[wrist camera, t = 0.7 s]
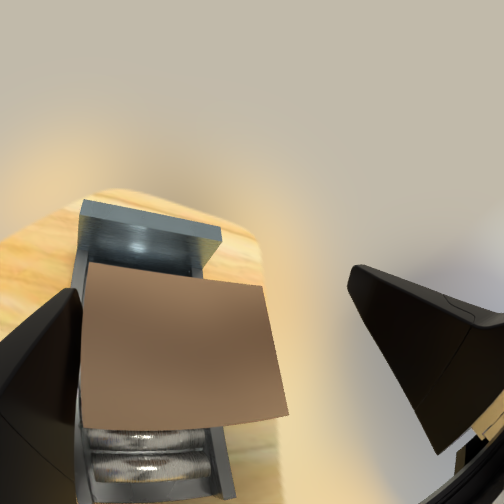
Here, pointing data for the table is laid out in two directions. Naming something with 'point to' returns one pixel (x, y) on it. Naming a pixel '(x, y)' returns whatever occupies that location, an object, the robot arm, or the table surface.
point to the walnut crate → (175, 353)
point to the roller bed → (145, 489)
